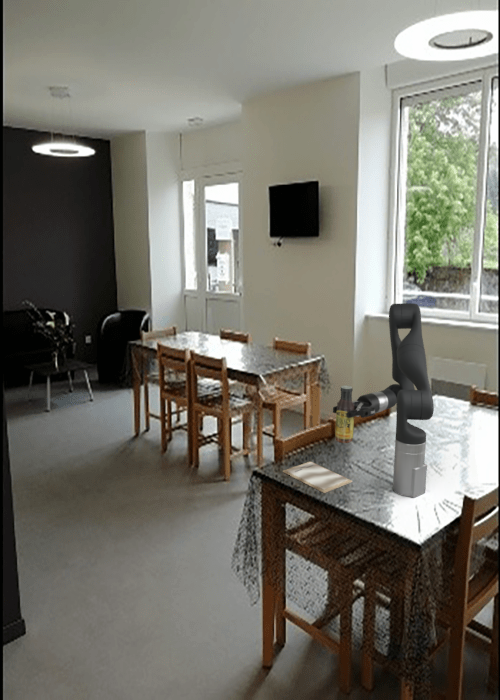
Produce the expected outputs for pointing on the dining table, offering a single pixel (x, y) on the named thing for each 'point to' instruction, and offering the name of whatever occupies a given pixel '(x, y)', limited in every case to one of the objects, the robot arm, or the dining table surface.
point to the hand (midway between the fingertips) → (340, 412)
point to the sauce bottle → (344, 416)
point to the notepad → (317, 476)
